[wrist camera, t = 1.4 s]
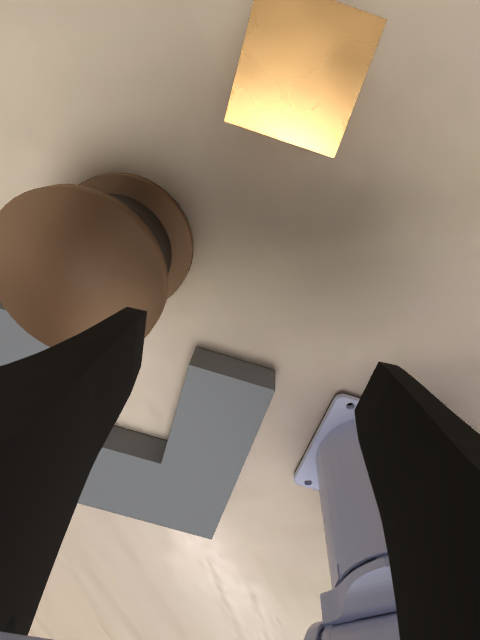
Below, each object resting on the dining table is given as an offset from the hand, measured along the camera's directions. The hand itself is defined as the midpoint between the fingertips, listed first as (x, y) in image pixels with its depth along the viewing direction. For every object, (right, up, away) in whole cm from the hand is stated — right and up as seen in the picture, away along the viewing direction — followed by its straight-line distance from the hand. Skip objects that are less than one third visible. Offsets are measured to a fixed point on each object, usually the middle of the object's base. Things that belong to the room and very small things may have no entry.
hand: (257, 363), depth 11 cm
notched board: (-9, -5, +14) cm, 17 cm away
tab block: (+2, +11, +5) cm, 13 cm away
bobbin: (-6, +5, +9) cm, 12 cm away
